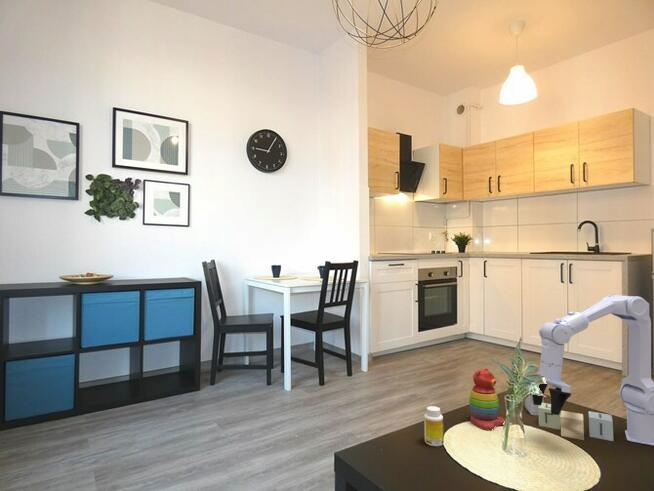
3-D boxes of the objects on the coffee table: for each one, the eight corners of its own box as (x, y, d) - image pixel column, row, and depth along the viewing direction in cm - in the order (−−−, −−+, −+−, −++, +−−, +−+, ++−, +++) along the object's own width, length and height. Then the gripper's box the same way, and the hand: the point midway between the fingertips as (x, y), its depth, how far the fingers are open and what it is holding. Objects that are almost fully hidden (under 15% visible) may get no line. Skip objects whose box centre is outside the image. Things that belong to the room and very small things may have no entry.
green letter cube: (560, 423, 132) (560, 405, 132) (559, 430, 126) (559, 411, 127) (540, 420, 135) (539, 402, 135) (538, 426, 130) (538, 407, 130)
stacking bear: (489, 432, 125) (487, 375, 126) (462, 421, 134) (461, 368, 135) (508, 424, 131) (507, 370, 132) (482, 414, 140) (480, 364, 141)
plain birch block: (583, 433, 124) (583, 414, 124) (584, 440, 119) (583, 420, 119) (561, 429, 127) (561, 410, 127) (561, 436, 122) (560, 416, 122)
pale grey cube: (612, 434, 123) (611, 414, 124) (613, 441, 118) (612, 421, 118) (589, 430, 126) (588, 410, 127) (589, 437, 121) (588, 417, 122)
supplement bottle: (446, 447, 115) (445, 411, 116) (427, 447, 115) (427, 411, 115) (440, 438, 121) (439, 404, 121) (422, 439, 120) (421, 405, 121)
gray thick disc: (544, 416, 138) (543, 391, 138) (531, 415, 139) (530, 390, 139) (537, 408, 146) (536, 384, 146) (524, 407, 146) (523, 384, 147)
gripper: (523, 356, 124) (518, 399, 123) (556, 368, 109) (551, 417, 108) (543, 358, 124) (538, 402, 123) (579, 371, 110) (573, 420, 109)
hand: (545, 409), depth 116 cm, fingers open, 7 cm apart
